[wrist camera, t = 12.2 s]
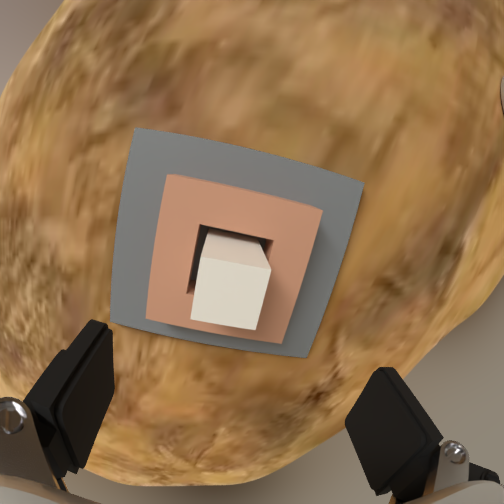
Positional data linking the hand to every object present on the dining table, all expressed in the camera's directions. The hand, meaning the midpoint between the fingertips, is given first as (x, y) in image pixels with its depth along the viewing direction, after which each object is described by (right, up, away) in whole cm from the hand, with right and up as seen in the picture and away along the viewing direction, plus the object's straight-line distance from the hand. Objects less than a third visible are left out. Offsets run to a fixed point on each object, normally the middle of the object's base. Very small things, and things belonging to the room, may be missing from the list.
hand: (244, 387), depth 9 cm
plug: (-2, +4, +15) cm, 16 cm away
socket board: (-2, +4, +16) cm, 17 cm away
